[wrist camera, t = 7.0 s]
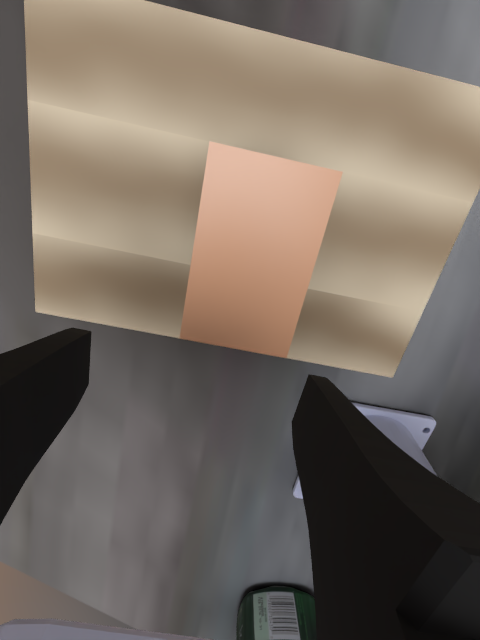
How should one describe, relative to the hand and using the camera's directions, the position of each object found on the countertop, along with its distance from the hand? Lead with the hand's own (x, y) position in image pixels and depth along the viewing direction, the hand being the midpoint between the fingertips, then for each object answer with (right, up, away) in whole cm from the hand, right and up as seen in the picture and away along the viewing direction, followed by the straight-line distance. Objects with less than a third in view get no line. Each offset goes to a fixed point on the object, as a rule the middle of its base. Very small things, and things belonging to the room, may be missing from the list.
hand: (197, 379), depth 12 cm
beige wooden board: (+2, +8, +8) cm, 11 cm away
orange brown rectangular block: (+2, +7, +5) cm, 8 cm away
